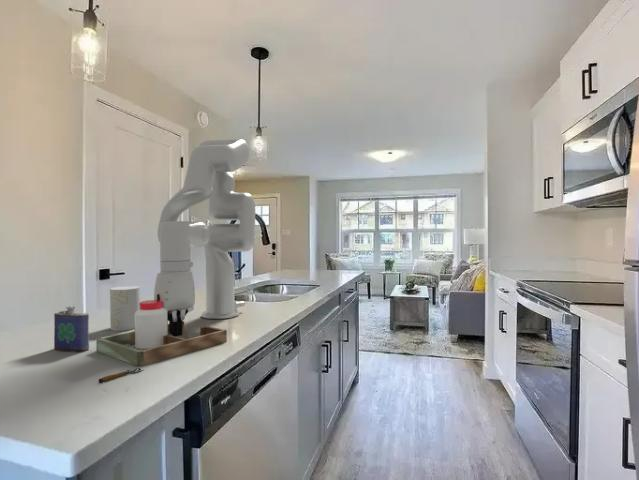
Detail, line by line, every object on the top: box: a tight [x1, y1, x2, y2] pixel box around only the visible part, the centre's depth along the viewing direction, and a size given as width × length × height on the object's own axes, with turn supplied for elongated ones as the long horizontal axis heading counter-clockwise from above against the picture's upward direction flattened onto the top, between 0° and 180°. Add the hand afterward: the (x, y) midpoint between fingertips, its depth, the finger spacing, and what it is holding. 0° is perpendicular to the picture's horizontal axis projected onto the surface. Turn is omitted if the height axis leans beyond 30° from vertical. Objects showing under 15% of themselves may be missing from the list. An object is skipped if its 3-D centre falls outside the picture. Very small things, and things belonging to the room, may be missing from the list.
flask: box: [53, 306, 90, 353], centre depth 97 cm, size 9×3×11 cm, turn 78°
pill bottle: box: [134, 299, 169, 350], centre depth 101 cm, size 8×8×11 cm
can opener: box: [98, 366, 144, 384], centre depth 79 cm, size 9×2×1 cm, turn 142°
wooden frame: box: [95, 320, 228, 367], centre depth 100 cm, size 24×19×3 cm
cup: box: [109, 285, 141, 332], centre depth 120 cm, size 8×8×12 cm
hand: (176, 335), depth 107 cm, fingers closed
